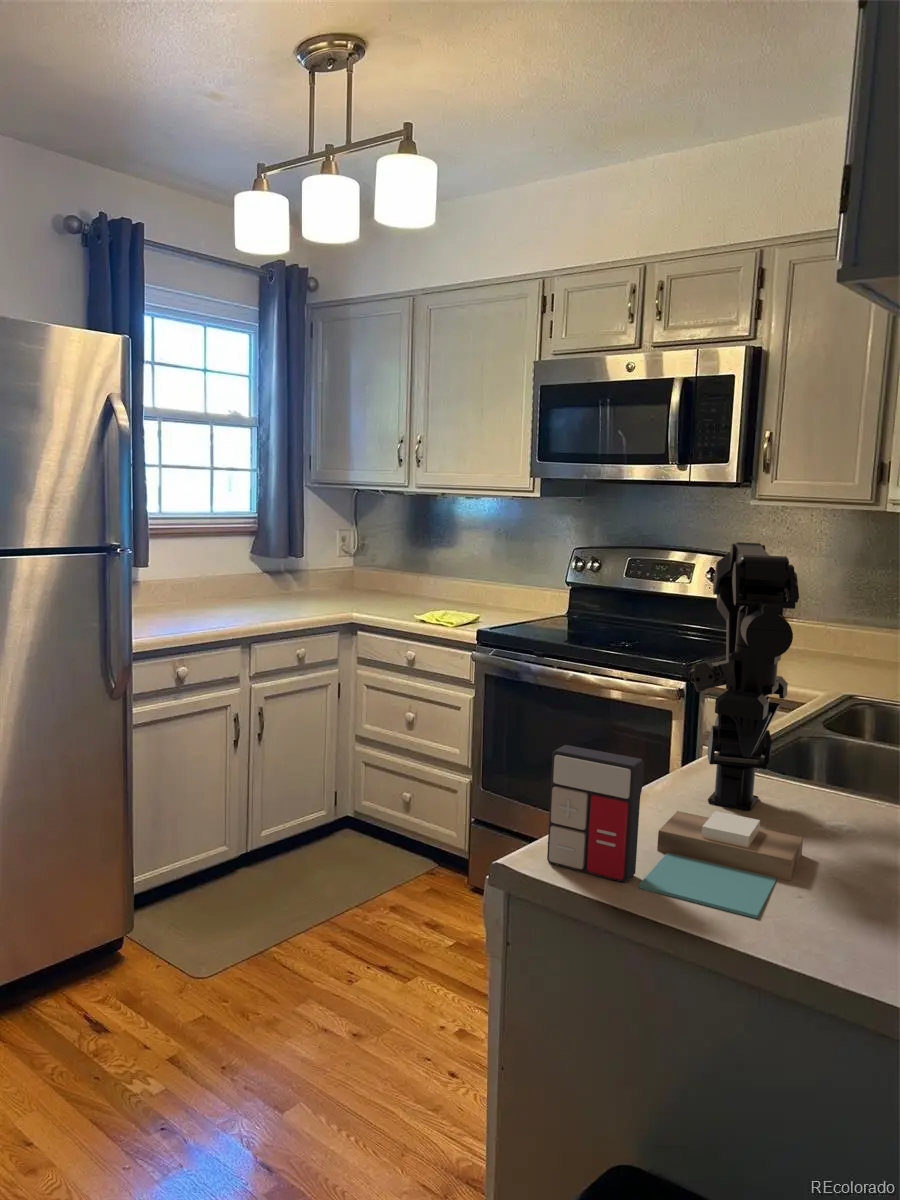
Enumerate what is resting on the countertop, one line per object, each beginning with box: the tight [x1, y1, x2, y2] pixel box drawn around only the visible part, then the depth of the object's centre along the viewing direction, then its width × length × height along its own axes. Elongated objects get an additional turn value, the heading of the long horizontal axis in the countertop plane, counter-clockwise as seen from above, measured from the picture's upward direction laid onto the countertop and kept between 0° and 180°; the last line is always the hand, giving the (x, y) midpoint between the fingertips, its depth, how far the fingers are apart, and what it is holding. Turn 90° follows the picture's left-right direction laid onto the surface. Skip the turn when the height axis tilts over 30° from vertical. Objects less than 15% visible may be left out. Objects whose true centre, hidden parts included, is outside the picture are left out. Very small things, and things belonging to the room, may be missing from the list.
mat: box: [638, 852, 778, 919], centre depth 111 cm, size 12×14×1 cm
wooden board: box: [656, 810, 804, 882], centre depth 120 cm, size 9×17×3 cm, turn 60°
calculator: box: [546, 744, 645, 883], centre depth 113 cm, size 11×4×15 cm, turn 59°
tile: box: [702, 810, 761, 847], centre depth 119 cm, size 7×6×2 cm
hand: (748, 754), depth 125 cm, fingers closed
